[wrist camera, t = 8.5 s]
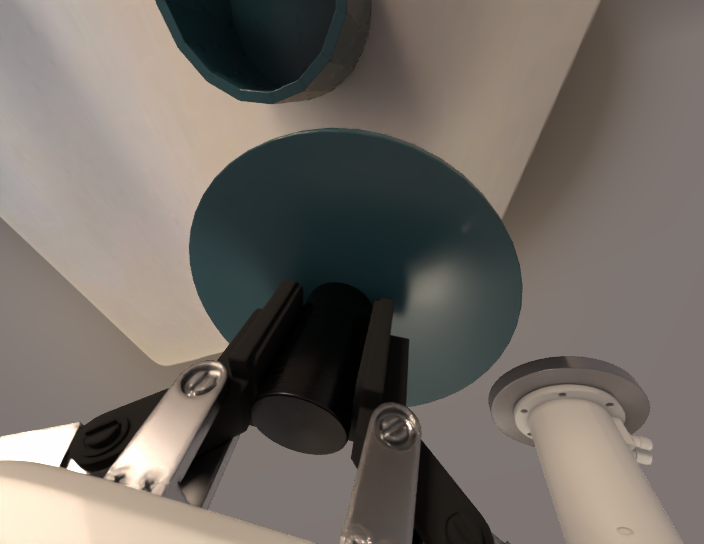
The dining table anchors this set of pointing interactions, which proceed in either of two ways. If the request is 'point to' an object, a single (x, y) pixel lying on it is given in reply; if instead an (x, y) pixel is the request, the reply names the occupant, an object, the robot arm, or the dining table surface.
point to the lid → (354, 271)
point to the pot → (270, 44)
